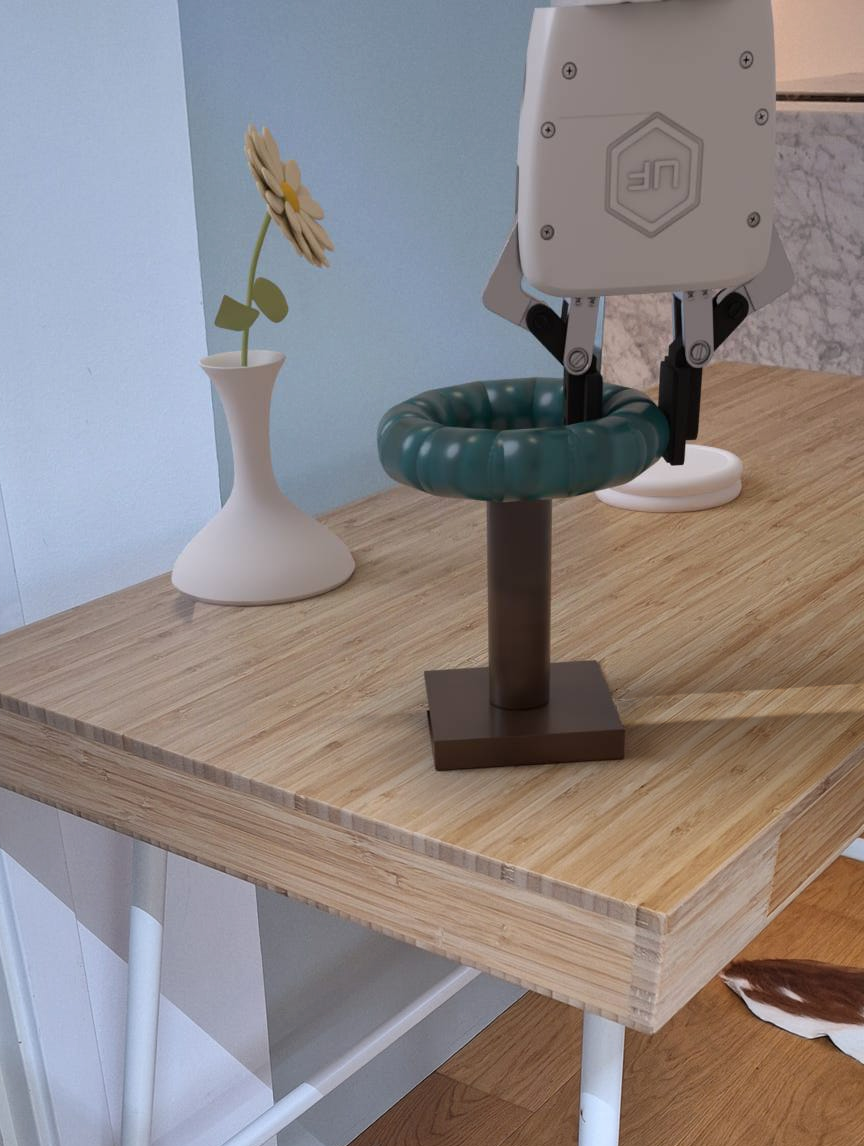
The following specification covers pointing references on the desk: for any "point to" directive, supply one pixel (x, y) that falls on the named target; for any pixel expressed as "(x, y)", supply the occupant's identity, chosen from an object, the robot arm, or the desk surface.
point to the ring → (518, 441)
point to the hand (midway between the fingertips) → (628, 456)
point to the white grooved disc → (681, 483)
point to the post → (521, 667)
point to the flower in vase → (262, 432)
